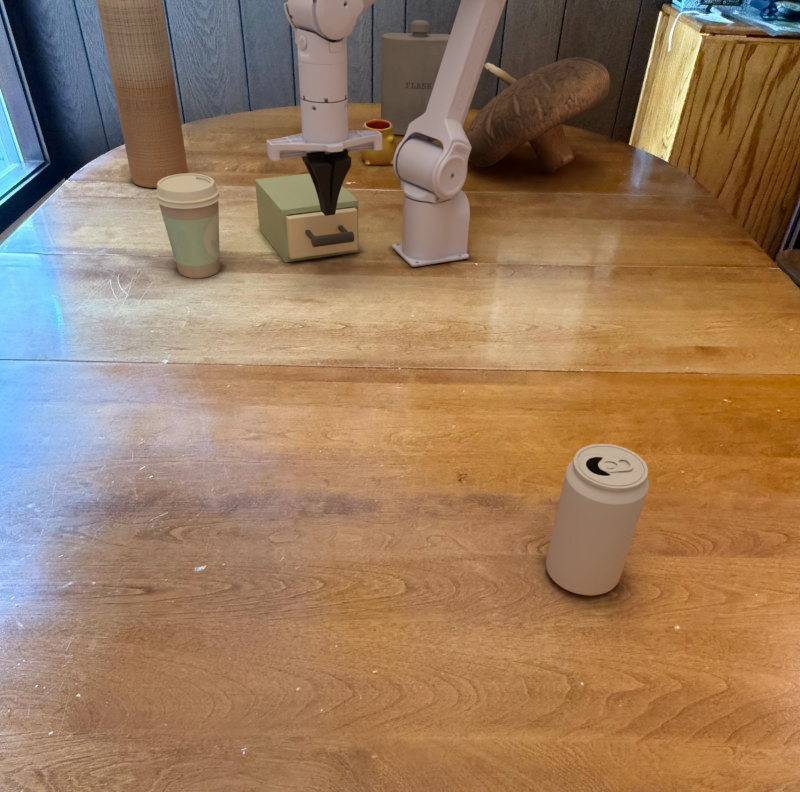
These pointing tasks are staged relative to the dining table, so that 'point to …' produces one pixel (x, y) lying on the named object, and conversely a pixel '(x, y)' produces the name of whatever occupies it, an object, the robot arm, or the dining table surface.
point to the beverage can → (596, 518)
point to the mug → (388, 143)
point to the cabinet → (291, 208)
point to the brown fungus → (537, 111)
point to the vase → (144, 88)
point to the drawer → (321, 233)
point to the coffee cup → (191, 222)
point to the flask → (409, 73)
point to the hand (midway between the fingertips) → (327, 212)
